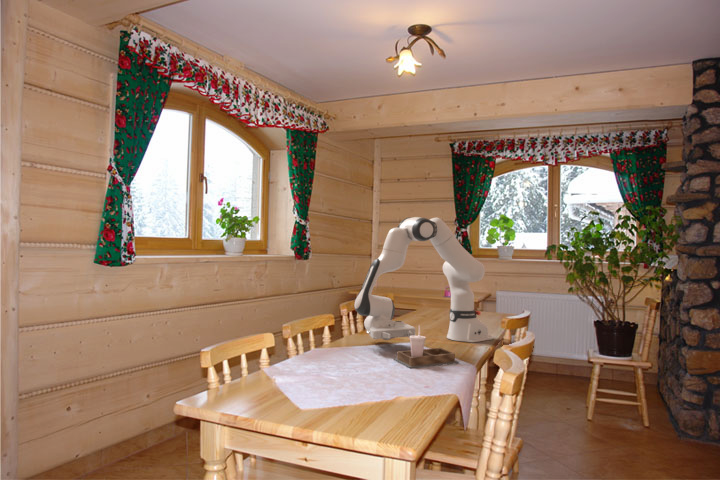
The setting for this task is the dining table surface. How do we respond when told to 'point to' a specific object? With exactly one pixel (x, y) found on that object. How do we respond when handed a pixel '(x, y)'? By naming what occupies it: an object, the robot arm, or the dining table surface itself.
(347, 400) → the dining table surface
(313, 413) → the dining table surface
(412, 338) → the smoothie
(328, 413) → the dining table surface
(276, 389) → the dining table surface
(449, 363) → the mat
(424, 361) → the tray
